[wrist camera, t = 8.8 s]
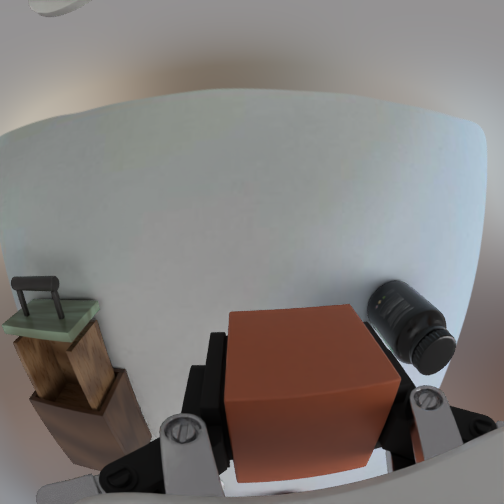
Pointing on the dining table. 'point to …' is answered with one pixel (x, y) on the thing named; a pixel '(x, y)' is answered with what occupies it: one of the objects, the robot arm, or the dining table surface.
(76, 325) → the drawer
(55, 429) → the cabinet
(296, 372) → the block
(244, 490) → the dining table surface
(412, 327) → the supplement bottle
